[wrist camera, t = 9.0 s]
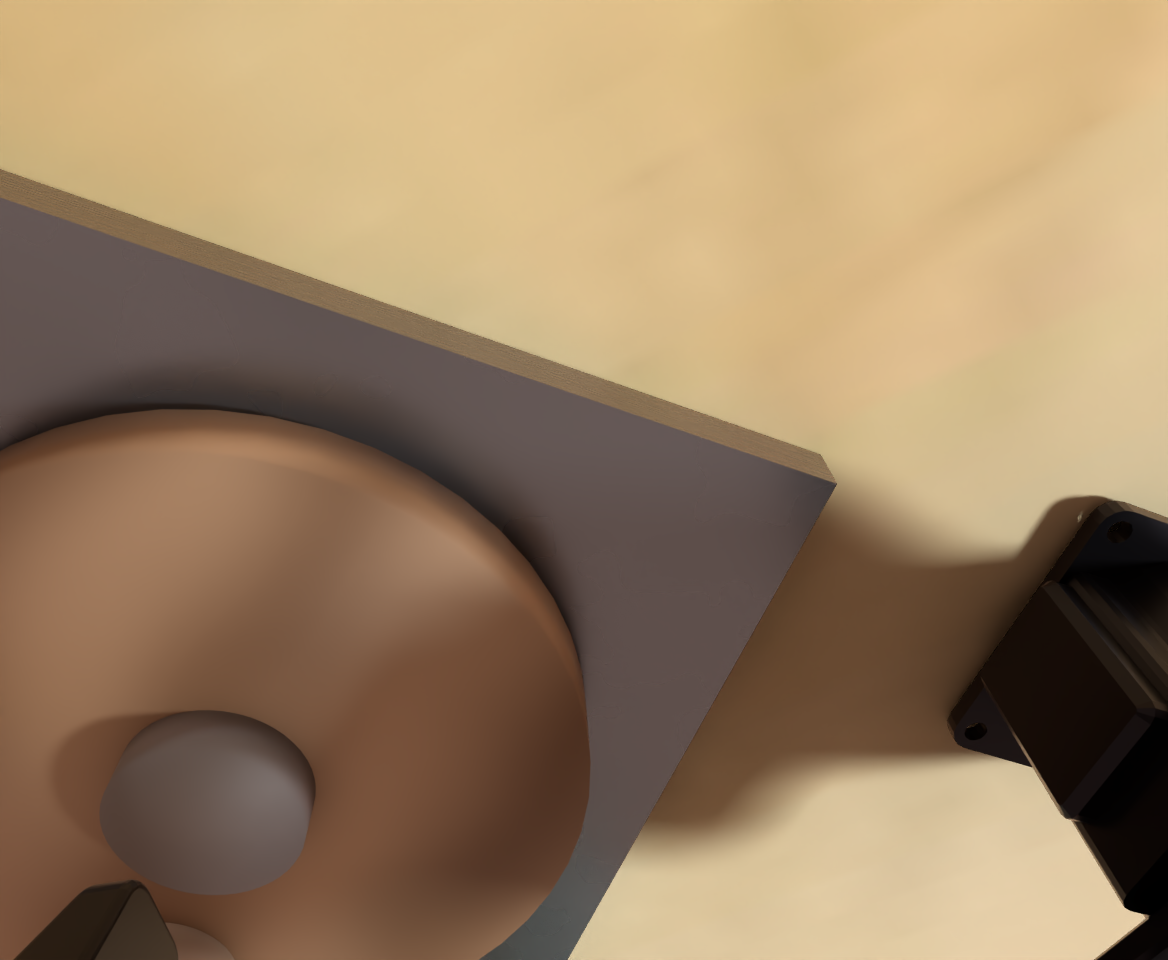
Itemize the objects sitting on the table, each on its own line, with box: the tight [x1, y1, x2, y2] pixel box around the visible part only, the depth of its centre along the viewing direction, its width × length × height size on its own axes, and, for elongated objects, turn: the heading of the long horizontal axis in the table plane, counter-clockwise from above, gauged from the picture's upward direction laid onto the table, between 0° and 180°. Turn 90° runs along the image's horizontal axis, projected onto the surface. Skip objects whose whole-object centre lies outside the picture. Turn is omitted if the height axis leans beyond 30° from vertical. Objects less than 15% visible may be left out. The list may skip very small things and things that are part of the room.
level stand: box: [0, 169, 837, 960], centre depth 20 cm, size 18×18×5 cm
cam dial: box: [0, 409, 591, 960], centre depth 18 cm, size 14×14×8 cm
